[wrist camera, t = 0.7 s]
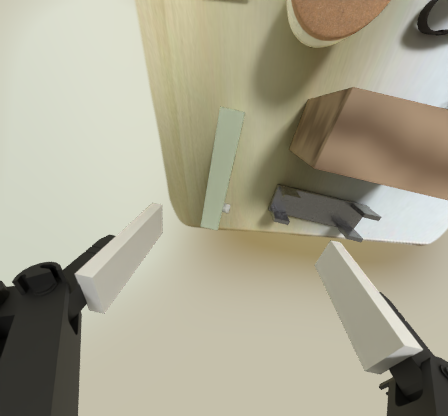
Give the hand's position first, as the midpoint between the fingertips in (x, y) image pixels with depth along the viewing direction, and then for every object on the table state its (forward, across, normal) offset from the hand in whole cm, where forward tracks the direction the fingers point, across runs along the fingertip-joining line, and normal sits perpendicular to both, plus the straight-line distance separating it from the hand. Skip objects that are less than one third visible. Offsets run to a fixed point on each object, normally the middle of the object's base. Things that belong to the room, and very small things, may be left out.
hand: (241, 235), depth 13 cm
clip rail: (+23, +17, -6) cm, 29 cm away
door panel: (+23, -4, 0) cm, 24 cm away
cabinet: (+23, +18, +8) cm, 30 cm away
